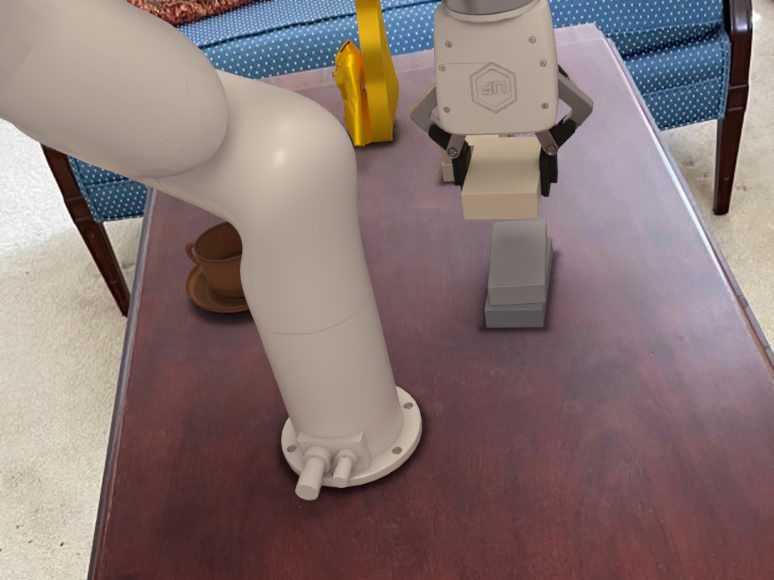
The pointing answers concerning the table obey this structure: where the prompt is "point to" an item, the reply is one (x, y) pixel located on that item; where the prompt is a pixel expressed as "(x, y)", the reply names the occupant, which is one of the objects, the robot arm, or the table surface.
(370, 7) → the figure statuette
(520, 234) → the grey stack
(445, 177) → the cream stack
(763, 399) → the table surface
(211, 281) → the cup and saucer
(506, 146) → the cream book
